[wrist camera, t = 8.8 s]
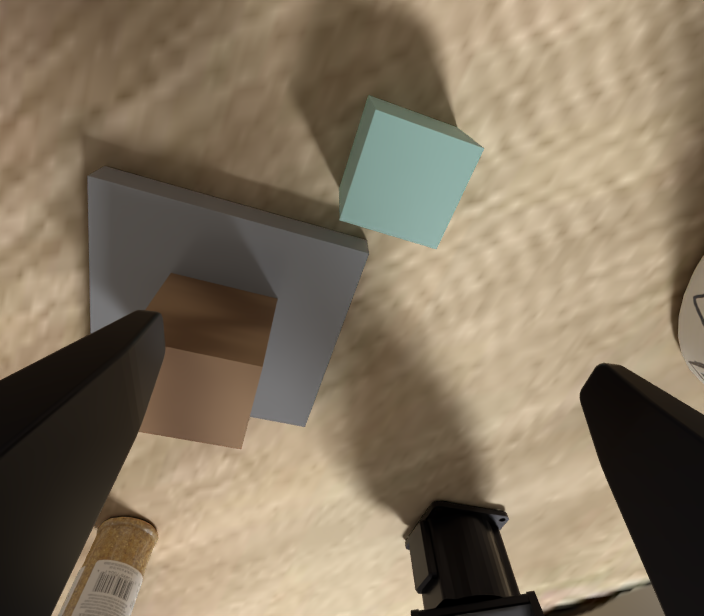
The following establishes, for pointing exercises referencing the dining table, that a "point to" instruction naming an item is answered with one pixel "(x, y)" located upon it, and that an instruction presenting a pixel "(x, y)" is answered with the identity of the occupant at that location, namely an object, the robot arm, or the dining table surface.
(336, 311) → the slate board
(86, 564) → the sprinkles bottle
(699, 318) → the planter
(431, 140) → the teal block
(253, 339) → the walnut block
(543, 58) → the dining table surface
